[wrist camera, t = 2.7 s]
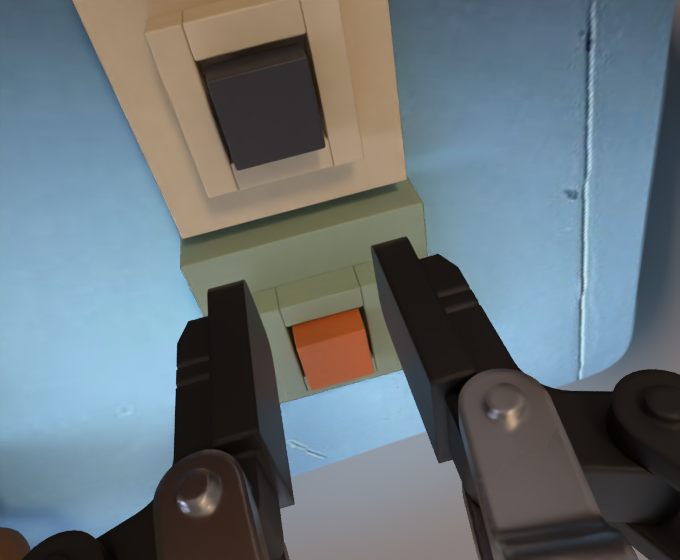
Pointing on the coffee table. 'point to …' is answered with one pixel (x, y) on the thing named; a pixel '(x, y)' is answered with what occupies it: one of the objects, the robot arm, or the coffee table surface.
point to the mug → (12, 545)
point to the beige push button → (201, 117)
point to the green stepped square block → (310, 270)
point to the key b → (333, 349)
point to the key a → (266, 105)
